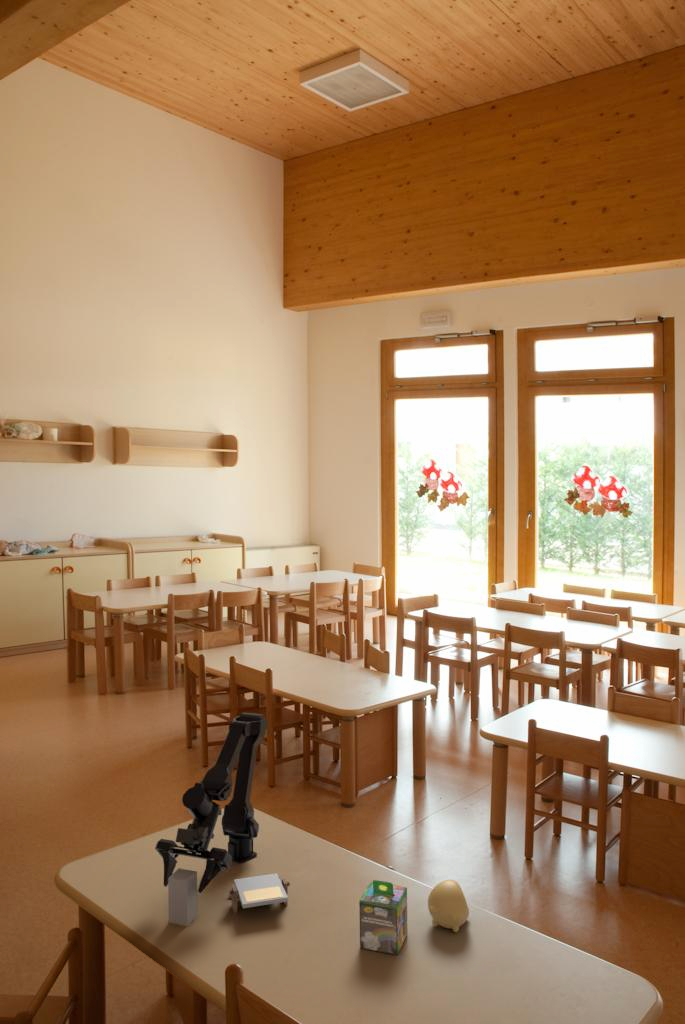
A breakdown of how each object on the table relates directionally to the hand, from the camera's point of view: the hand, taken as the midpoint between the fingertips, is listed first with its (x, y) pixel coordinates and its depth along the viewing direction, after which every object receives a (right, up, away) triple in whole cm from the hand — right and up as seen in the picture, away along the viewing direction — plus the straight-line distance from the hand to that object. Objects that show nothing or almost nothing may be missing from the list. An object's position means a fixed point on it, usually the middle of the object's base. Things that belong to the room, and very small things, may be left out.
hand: (182, 889), depth 200 cm
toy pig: (+64, -8, -1) cm, 64 cm away
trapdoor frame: (+17, -7, +9) cm, 21 cm away
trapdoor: (+18, -6, +6) cm, 20 cm away
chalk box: (+48, -9, -8) cm, 49 cm away
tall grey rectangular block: (0, -8, +1) cm, 8 cm away
